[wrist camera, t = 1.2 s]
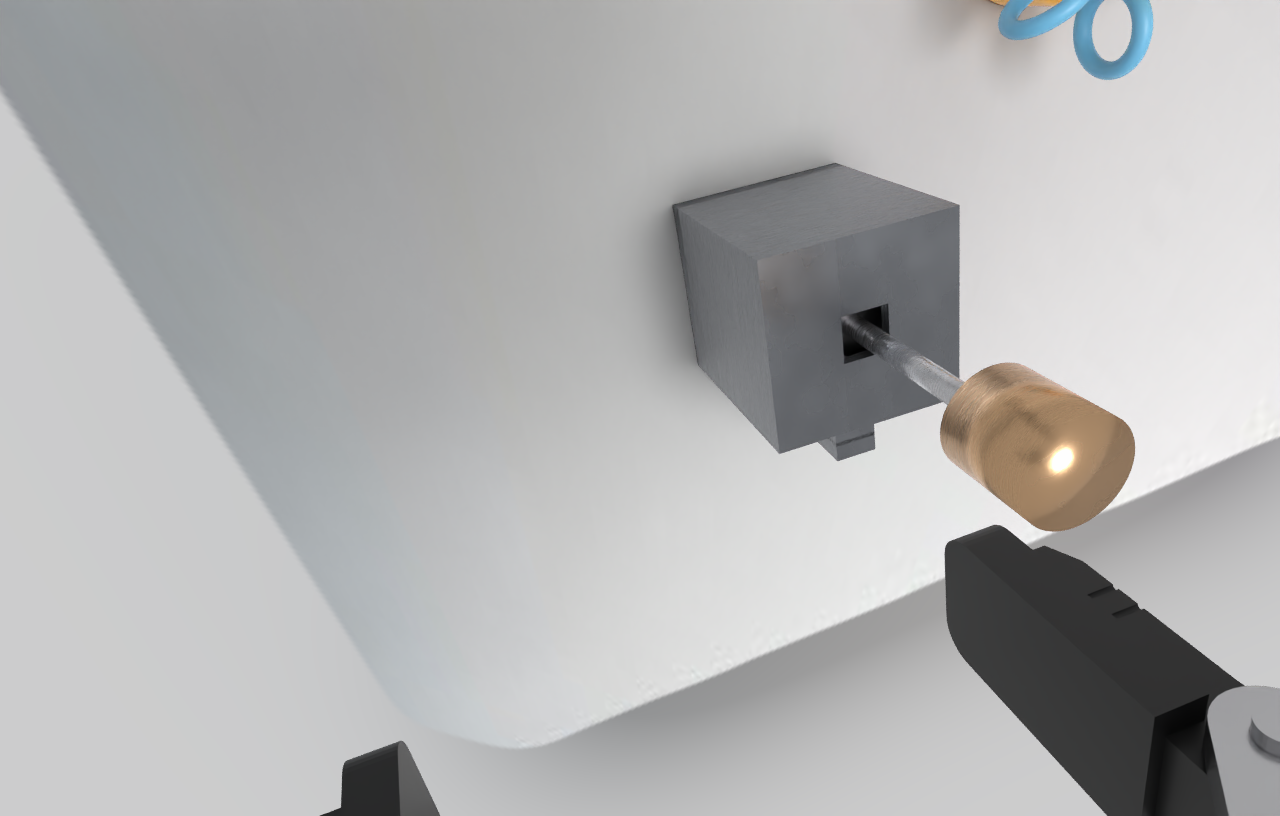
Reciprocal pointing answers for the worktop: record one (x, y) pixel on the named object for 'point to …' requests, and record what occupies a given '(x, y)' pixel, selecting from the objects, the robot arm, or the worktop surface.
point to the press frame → (819, 299)
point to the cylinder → (1081, 30)
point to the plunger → (1015, 431)
